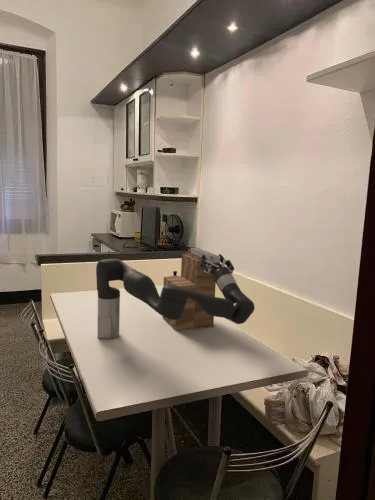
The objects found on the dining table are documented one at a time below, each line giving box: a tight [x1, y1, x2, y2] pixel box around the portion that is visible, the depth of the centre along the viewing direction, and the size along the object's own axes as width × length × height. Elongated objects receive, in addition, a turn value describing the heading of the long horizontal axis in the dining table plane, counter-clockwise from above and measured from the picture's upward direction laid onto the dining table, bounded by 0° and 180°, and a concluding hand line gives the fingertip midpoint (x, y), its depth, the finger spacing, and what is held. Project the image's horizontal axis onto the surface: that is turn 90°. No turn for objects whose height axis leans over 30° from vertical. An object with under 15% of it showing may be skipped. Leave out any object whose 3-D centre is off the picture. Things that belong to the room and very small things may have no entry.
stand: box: [161, 248, 217, 332], centre depth 186 cm, size 18×19×34 cm
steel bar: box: [190, 247, 221, 264], centre depth 180 cm, size 24×4×4 cm, turn 23°
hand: (211, 255), depth 173 cm, fingers open, 7 cm apart
